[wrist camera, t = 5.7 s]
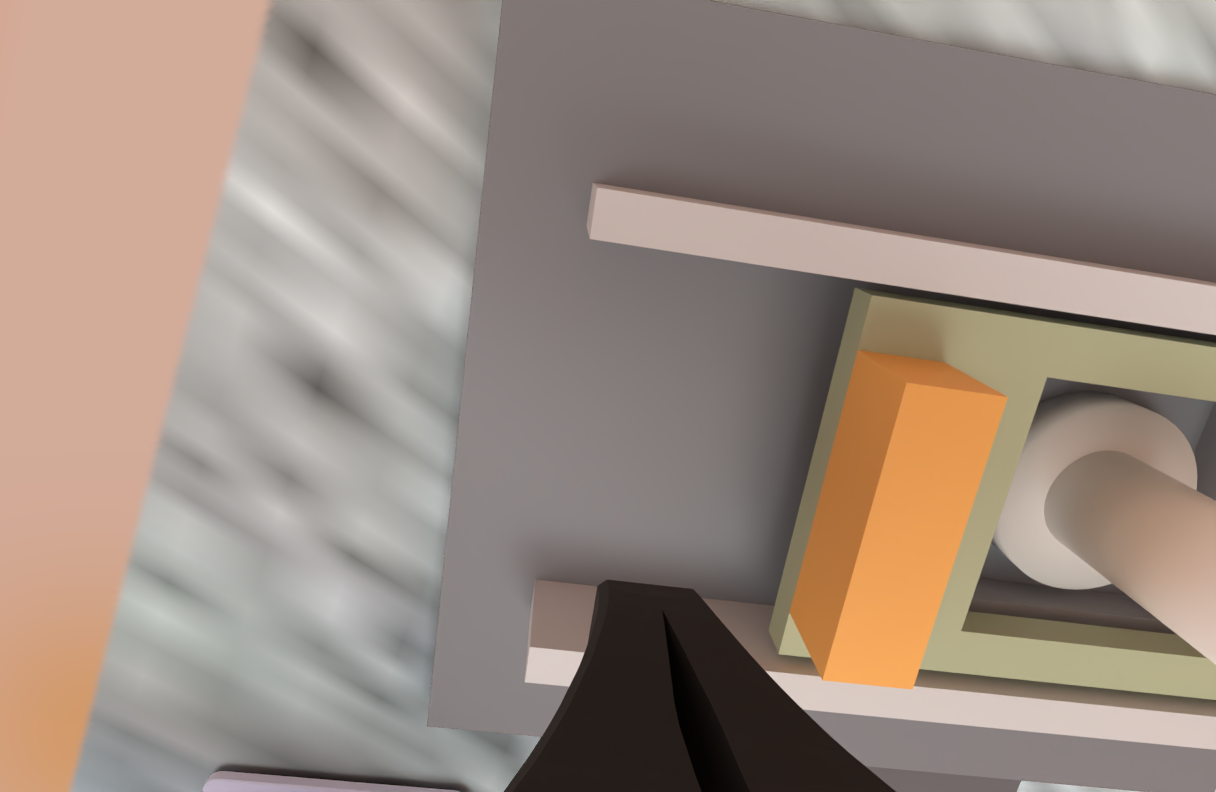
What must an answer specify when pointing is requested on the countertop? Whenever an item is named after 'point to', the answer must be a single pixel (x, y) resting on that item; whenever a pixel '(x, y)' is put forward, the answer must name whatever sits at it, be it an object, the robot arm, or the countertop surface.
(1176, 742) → the socket board
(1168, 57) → the countertop surface
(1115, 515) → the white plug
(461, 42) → the countertop surface
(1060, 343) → the plate
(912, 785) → the rubber pad
